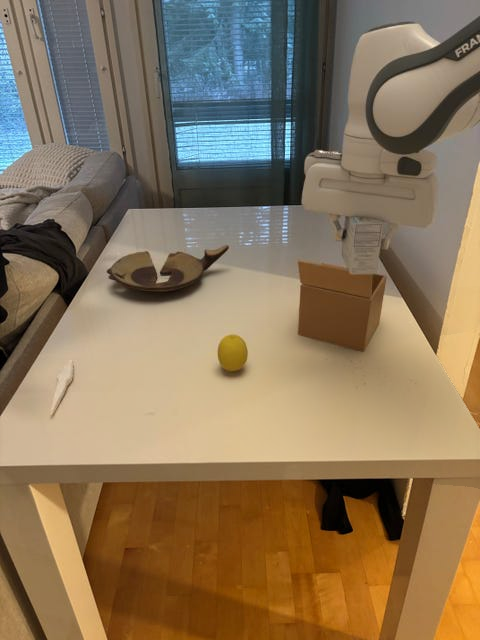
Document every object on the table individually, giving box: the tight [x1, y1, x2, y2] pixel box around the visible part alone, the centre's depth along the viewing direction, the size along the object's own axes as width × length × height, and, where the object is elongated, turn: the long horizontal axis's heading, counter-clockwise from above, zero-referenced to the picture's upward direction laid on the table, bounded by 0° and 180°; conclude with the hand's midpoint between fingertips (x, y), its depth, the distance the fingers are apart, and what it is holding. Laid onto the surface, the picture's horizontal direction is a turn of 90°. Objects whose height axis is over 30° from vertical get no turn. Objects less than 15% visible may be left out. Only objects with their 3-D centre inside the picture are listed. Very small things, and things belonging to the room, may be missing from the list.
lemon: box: [217, 333, 249, 372], centre depth 85 cm, size 6×6×8 cm
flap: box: [297, 259, 372, 298], centre depth 86 cm, size 14×6×1 cm
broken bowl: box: [106, 244, 230, 292], centre depth 117 cm, size 22×30×8 cm
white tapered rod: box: [49, 358, 75, 416], centre depth 83 cm, size 15×3×2 cm, turn 5°
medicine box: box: [341, 216, 384, 274], centre depth 75 cm, size 8×4×9 cm, turn 179°
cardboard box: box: [297, 262, 388, 353], centre depth 96 cm, size 14×12×12 cm
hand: (360, 243), depth 75 cm, fingers closed on medicine box, 6 cm apart
